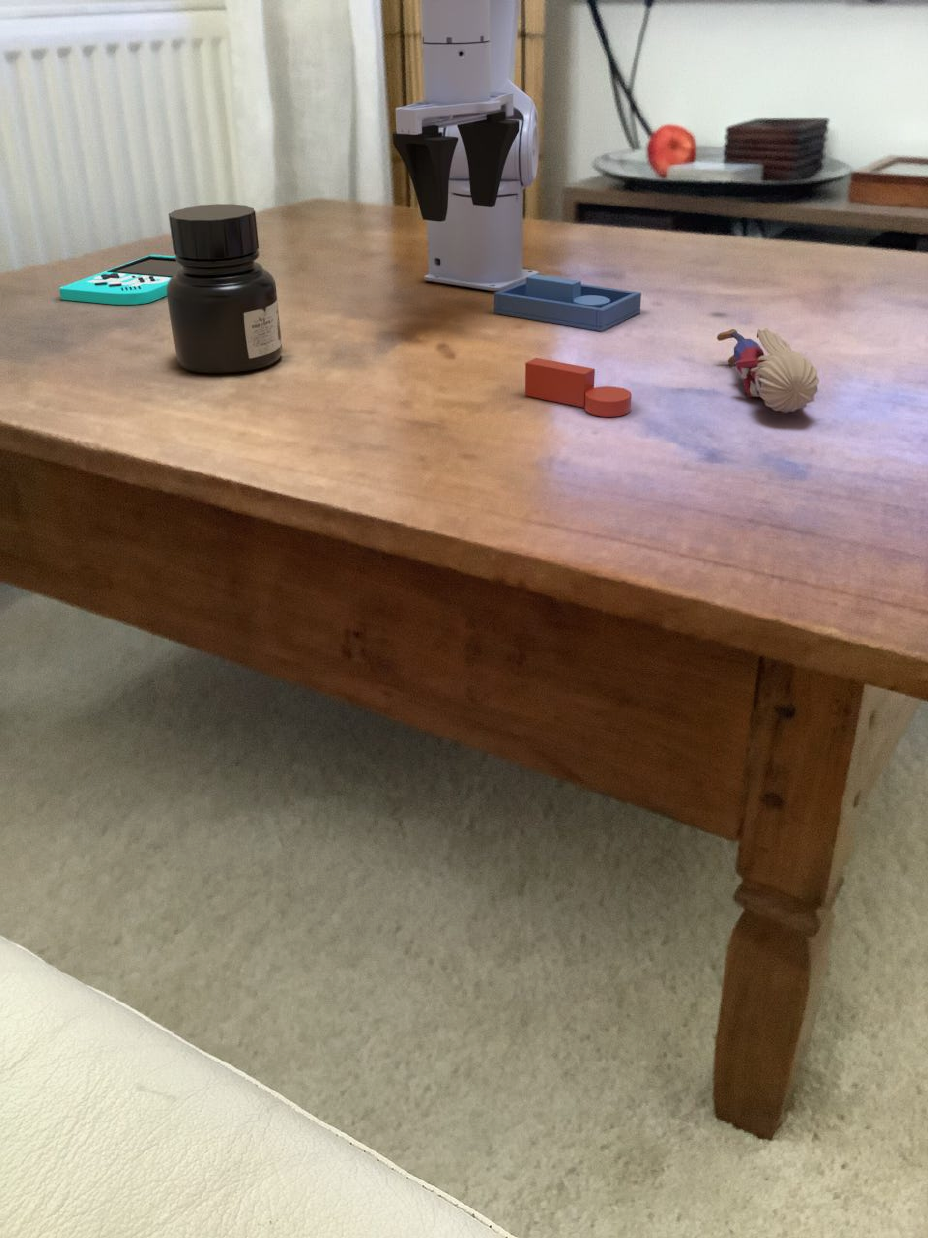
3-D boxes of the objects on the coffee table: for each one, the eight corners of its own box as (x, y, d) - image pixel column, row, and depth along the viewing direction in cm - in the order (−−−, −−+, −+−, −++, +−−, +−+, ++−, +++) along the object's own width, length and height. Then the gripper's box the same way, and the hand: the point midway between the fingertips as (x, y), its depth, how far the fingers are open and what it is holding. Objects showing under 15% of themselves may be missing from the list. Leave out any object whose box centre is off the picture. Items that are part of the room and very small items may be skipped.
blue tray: (493, 312, 107) (493, 292, 106) (534, 296, 112) (534, 276, 111) (601, 331, 101) (602, 310, 100) (640, 312, 106) (641, 292, 105)
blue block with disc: (519, 306, 107) (519, 278, 106) (538, 298, 109) (539, 271, 108) (598, 319, 103) (599, 290, 101) (616, 310, 105) (617, 282, 104)
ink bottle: (284, 374, 92) (269, 220, 86) (174, 381, 91) (150, 226, 85) (281, 340, 100) (267, 198, 94) (180, 347, 99) (159, 203, 93)
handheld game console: (57, 299, 114) (54, 285, 114) (151, 264, 127) (149, 251, 126) (139, 307, 111) (137, 293, 110) (227, 270, 124) (226, 257, 123)
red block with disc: (517, 399, 86) (518, 365, 84) (541, 386, 88) (542, 354, 87) (616, 420, 81) (618, 385, 80) (639, 406, 84) (641, 372, 82)
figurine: (699, 323, 90) (751, 370, 77) (748, 296, 90) (809, 338, 76) (728, 385, 93) (783, 441, 79) (776, 359, 92) (840, 411, 79)
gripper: (442, 48, 87) (447, 231, 94) (543, 37, 97) (540, 203, 104) (372, 46, 91) (381, 223, 97) (476, 36, 101) (478, 196, 107)
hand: (459, 212), depth 101 cm, fingers open, 7 cm apart
